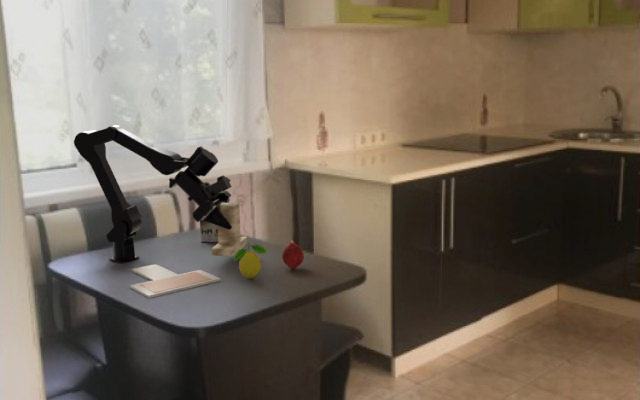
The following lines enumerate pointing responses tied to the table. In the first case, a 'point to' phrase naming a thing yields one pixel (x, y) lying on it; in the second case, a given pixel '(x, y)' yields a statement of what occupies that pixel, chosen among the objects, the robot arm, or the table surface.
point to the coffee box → (208, 231)
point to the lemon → (249, 261)
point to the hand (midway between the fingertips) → (233, 226)
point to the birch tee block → (229, 232)
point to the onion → (293, 255)
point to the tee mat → (169, 280)
